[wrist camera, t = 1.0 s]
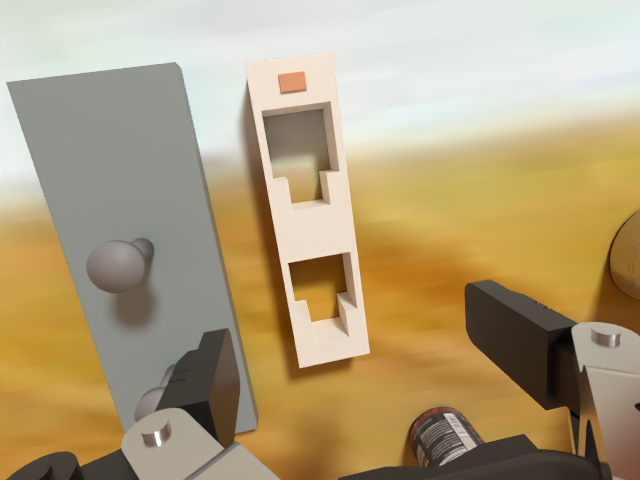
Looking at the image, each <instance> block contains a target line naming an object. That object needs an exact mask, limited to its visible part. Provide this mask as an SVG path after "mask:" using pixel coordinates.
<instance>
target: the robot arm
mask: <svg viewBox="0 0 640 480" xmlns="http://www.w3.org/2000/svg"><path fill="white" fill-rule="evenodd" d="M610 271H611V275H612V278H613V280H614V282H615V284H616V286H617V287H618V288H619V289H620V290H621V291H622V292H623V293H625V294H627V295H629V296H631V297H634V298H636V299H639V300H640V210H639V211H638V212H636V213H635V214H634V215H633V216H632V217H631V218H630V219H628V220H627V222H626V223H625V224H624V226H623V227H622V228H621V229H620V231H619V233H618V235H617V237H616V239H615V241H614V244H613V247H612V250H611V256H610ZM465 315H466V330H467V333H468V336H469V338H470V340H471V342H472V343H473V344H474V345H475V346H476V347H477V348H478V349H479V350H480V351H481V352H483V353H484V354H485V355H486V356H487V357H488V358H489V359H490V360H491V361H492V362H494V363H495V364H496V365H497V366H498V367H499V368H500V369H501V370H502V371H503V372H504V373H506V374H507V375H508V376H509V377H510V378H511V379H512V380H513V381H514V382H515V383H517V384H518V385H519V386H520V387H521V388H522V389H523V390H524V391H525V392H526V393H527V394H529V395H530V396H531V397H532V398H533V399H534V400H535V401H536V402H537V403H538V404H540V405H541V406H542V407H543V408H544V409H545V410H550V409H554V408H559V407H563V406H567V407H568V425H569V432H570V440H571V447H572V454H571V453H567V452H562V451H556V450H546V449H538V448H537V447H536V446H535V445H534V444H533V443H532V442H531V441H530V440H529V439H528V437H527V436H526V435H525V434H521V435H517V436H513V437H509V438H504V439H500V440H496V441H492V442H488V443H483V444H480V445H478V446H476V447H474V448H473V449H471V450H469V451H467V452H465V453H464V454H462V455H460V456H458V457H456V458H454V459H453V460H451V461H449V462H447V463H445V464H443V465H441V466H434V467H382V468H378V469H374V470H370V471H365V472H361V473H357V474H353V475H349V476H344V477H340V478H338V480H640V336H639V335H638V334H636V333H635V332H633V331H631V330H629V329H626V328H624V327H621V326H618V325H614V324H609V323H602V322H584V323H580V324H578V323H576V322H575V321H573V320H571V319H569V318H567V317H565V316H563V315H561V314H560V313H558V312H556V311H554V310H552V309H548V307H547V306H545V305H543V304H541V303H538V302H537V301H535V300H534V299H532V298H530V297H528V296H526V295H524V294H520V293H516V292H513V291H510V290H509V289H507V288H505V287H503V286H501V285H500V284H498V283H496V282H494V281H492V280H484V281H478V282H473V283H468V284H467V285H466V286H465ZM239 397H240V376H239V370H238V365H237V361H236V356H235V352H234V347H233V343H232V338H231V334H230V331H229V329H228V328H224V329H219V330H214V331H208V332H204V333H203V336H202V338H201V341H200V344H199V346H198V349H196V350H191V351H188V352H187V353H186V354H185V355H184V356H183V357H182V358H181V359H179V360H178V361H177V363H176V365H175V368H174V370H173V372H172V375H171V376H170V379H169V381H168V384H167V385H166V387H165V390H164V392H163V394H162V396H161V398H160V401H159V403H158V405H157V407H156V409H155V412H154V413H152V414H150V415H148V416H146V417H144V418H143V419H141V420H140V421H138V422H137V423H136V424H134V425H133V426H132V427H131V428H130V429H129V430H128V432H127V433H126V434H125V436H124V438H123V440H122V443H121V449H119V450H117V451H115V452H113V453H111V454H108V455H106V456H104V457H101V458H99V459H97V460H94V461H92V462H90V463H88V464H85V465H83V466H81V467H80V466H79V463H78V460H77V458H76V456H75V455H74V454H73V453H71V452H56V453H52V454H49V455H46V456H43V457H41V458H39V459H36V460H34V461H32V462H31V463H29V464H27V465H25V466H24V467H22V468H21V469H19V470H18V471H16V472H15V473H14V474H12V475H11V476H10V477H9V478H8V479H6V480H280V479H279V478H278V477H277V476H276V475H275V474H274V473H273V472H271V471H270V470H269V469H268V468H267V467H266V466H265V465H264V464H263V463H261V462H260V461H259V460H258V459H257V458H256V457H255V456H254V455H252V454H251V453H250V452H249V451H248V450H247V449H246V448H245V447H243V446H242V445H241V444H240V443H238V442H234V437H235V429H236V421H237V413H238V405H239Z"/></svg>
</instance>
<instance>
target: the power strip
mask: <svg viewBox="0 0 640 480" xmlns="http://www.w3.org/2000/svg"><path fill="white" fill-rule="evenodd" d="M244 64H245V70H246V75H247V81H248V86H249V92H250V97H251V103H252V108H253V114H254V119H255V125H256V130H257V136H258V141H259V147H260V152H261V158H262V163H263V169H264V174H265V180H266V185H267V191H268V196H269V202H270V207H271V213H272V218H273V224H274V229H275V235H276V240H277V246H278V251H279V257H280V262H281V268H282V273H283V279H284V284H285V290H286V295H287V301H288V306H289V312H290V317H291V323H292V329H293V334H294V340H295V345H296V351H297V356H298V362H299V367H300V368H303V367H308V366H312V365H317V364H322V363H326V362H331V361H336V360H340V359H345V358H350V357H354V356H359V355H364V354H368V353H370V351H369V343H368V335H367V327H366V319H365V311H364V303H363V295H362V287H361V279H360V271H359V263H358V255H357V247H356V239H355V231H354V223H353V215H352V207H351V199H350V191H349V182H348V174H347V166H346V158H345V150H344V142H343V134H342V126H341V118H340V110H339V102H338V94H337V86H336V78H335V70H334V62H333V54H332V52H330V53H322V54H313V55H305V56H297V57H289V58H280V59H272V60H264V61H256V62H248V63H244ZM317 109H322V110H323V117H324V125H325V132H326V139H327V147H328V154H329V162H330V169H331V170H325V171H319V175H320V182H321V189H322V196H323V199H319V200H313V201H307V202H301V203H295V204H291V198H290V192H289V186H288V180H287V179H286V177H280V178H274V179H273V175H272V169H271V163H270V158H269V152H268V146H267V141H266V135H265V129H264V124H263V118H262V117H266V116H273V115H281V114H288V113H295V112H302V111H310V110H317ZM340 253H342V257H343V265H344V272H345V279H346V287H347V292H342V293H337V300H338V307H339V314H340V317H335V318H331V319H326V320H321V321H316V322H311V318H310V314H309V311H308V307H307V303H306V300H301V301H295V300H294V294H293V288H292V283H291V277H290V271H289V266H288V263H291V262H296V261H302V260H307V259H313V258H318V257H324V256H329V255H335V254H340Z"/></svg>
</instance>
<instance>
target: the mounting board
mask: <svg viewBox="0 0 640 480" xmlns="http://www.w3.org/2000/svg"><path fill="white" fill-rule="evenodd" d="M6 83H7V86H8V89H9V92H10V95H11V98H12V101H13V104H14V107H15V110H16V113H17V116H18V119H19V122H20V125H21V128H22V131H23V134H24V137H25V140H26V143H27V145H28V148H29V151H30V154H31V157H32V160H33V163H34V166H35V169H36V172H37V175H38V178H39V181H40V184H41V187H42V190H43V193H44V196H45V199H46V202H47V205H48V208H49V211H50V214H51V217H52V220H53V223H54V226H55V229H56V231H57V234H58V237H59V240H60V243H61V246H62V249H63V252H64V255H65V258H66V261H67V264H68V267H69V270H70V273H71V276H72V279H73V282H74V285H75V288H76V291H77V294H78V297H79V300H80V303H81V306H82V309H83V312H84V315H85V317H86V320H87V323H88V326H89V329H90V332H91V335H92V338H93V341H94V344H95V347H96V350H97V353H98V356H99V359H100V362H101V365H102V368H103V371H104V374H105V377H106V380H107V383H108V386H109V389H110V392H111V395H112V398H113V401H114V403H115V406H116V409H117V412H118V415H119V418H120V421H121V424H122V427H123V430H124V433H125V434H126V433H127V432H128V430H129V429H130V428H131V427H132V426H133V425H134V424H136V423H137V422H138V421H140V420H141V419H143V418H144V417H146V416H148V415H150V414H152V413H154V412H155V409H156V407H157V405H158V403H159V401H160V398H161V396H162V394H163V392H164V390H165V387H166V385H167V384H168V381H169V379H170V376H171V375H172V372H173V370H174V368H175V365H176V363H177V361H178V360H179V359H181V358H182V357H183V356H184V355H185V354H186V353H187V352H188V351H191V350H196V349H198V346H199V344H200V341H201V338H202V336H203V333H204V332H208V331H214V330H219V329H224V328H228V329H229V331H230V334H231V338H232V343H233V347H234V352H235V356H236V361H237V365H238V370H239V376H240V397H239V405H238V413H237V421H236V429H235V434H237V433H241V432H245V431H250V430H254V429H258V412H257V408H256V403H255V399H254V394H253V390H252V385H251V381H250V376H249V372H248V367H247V363H246V358H245V354H244V349H243V345H242V340H241V336H240V331H239V327H238V322H237V318H236V313H235V309H234V304H233V300H232V295H231V291H230V287H229V282H228V278H227V273H226V269H225V264H224V260H223V255H222V251H221V246H220V242H219V237H218V233H217V228H216V224H215V219H214V215H213V210H212V206H211V201H210V197H209V192H208V188H207V183H206V179H205V174H204V170H203V165H202V161H201V156H200V152H199V147H198V143H197V138H196V134H195V129H194V125H193V120H192V116H191V111H190V107H189V102H188V98H187V93H186V89H185V84H184V80H183V75H182V71H181V68H180V67H179V66H178V65H177V64H176V62H173V63H165V64H156V65H148V66H139V67H131V68H122V69H114V70H106V71H97V72H89V73H80V74H72V75H63V76H55V77H47V78H38V79H30V80H21V81H13V82H6Z"/></svg>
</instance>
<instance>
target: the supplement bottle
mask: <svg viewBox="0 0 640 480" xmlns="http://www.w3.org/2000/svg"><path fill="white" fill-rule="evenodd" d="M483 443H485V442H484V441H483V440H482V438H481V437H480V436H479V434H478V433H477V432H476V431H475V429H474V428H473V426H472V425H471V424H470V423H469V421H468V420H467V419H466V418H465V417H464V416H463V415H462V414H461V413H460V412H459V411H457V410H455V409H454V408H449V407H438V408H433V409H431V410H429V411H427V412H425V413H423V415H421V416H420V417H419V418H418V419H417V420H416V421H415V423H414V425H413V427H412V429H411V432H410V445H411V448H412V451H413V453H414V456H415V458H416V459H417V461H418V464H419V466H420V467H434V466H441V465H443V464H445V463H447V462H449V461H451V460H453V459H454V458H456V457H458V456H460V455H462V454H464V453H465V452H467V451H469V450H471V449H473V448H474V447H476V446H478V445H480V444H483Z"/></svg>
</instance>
